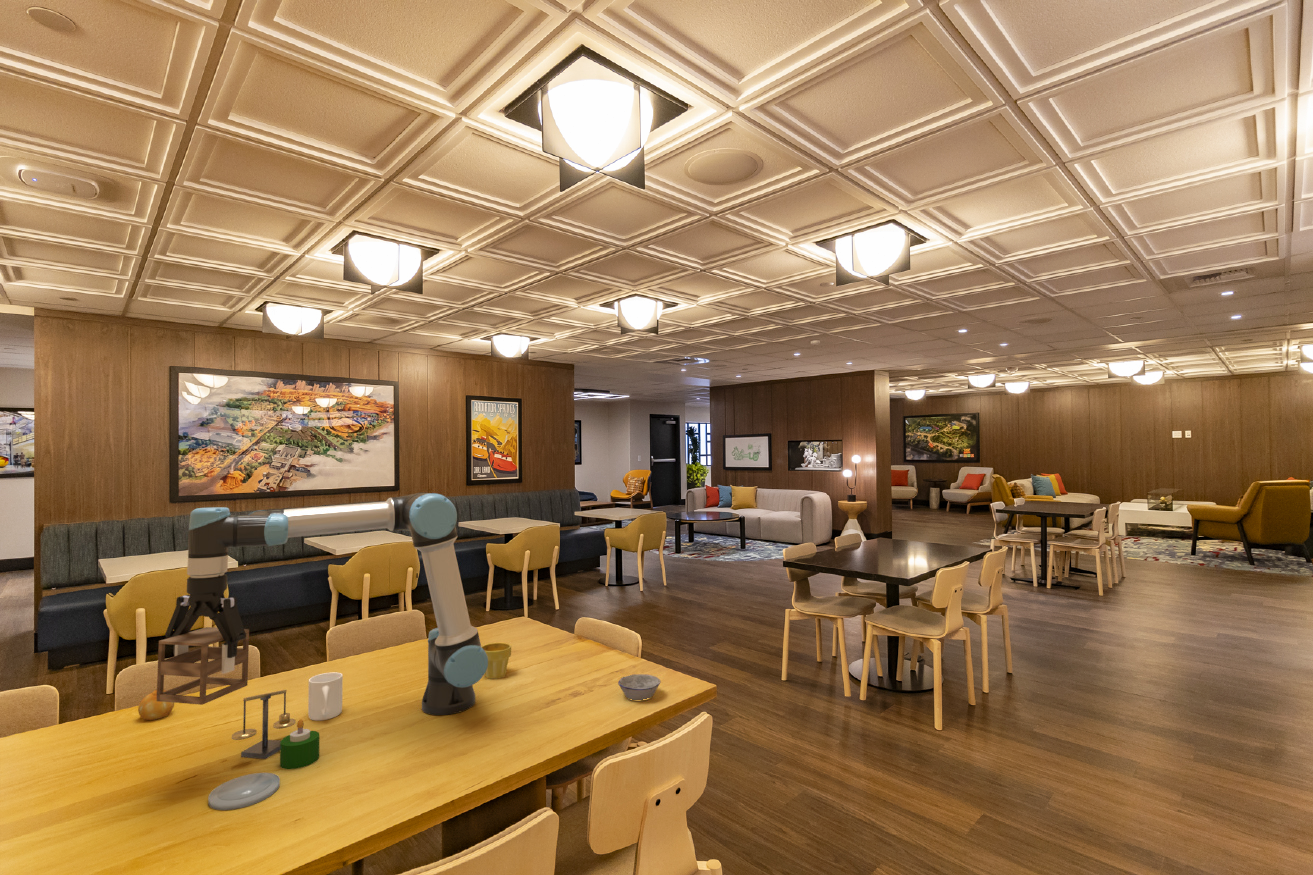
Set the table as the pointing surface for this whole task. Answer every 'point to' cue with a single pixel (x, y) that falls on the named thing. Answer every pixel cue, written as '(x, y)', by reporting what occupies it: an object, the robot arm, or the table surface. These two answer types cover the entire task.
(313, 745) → the candle
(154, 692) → the brown onion
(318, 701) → the mug
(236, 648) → the robot arm
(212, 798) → the dish
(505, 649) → the plant pot
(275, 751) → the balance
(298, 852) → the table surface
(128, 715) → the table surface
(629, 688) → the bowl
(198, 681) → the crate
